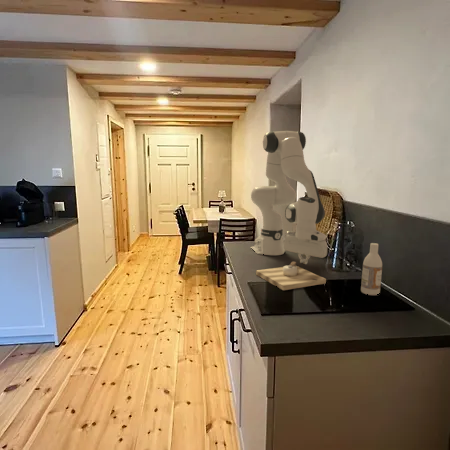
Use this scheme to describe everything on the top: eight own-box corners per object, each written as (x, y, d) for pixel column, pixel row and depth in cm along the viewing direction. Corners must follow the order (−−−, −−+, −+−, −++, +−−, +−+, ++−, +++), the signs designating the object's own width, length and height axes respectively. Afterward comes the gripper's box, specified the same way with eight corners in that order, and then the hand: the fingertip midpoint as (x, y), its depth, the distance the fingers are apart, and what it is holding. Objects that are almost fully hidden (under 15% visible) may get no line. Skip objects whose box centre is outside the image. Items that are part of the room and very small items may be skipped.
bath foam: (373, 297, 127) (377, 246, 123) (357, 291, 132) (361, 243, 129) (383, 293, 130) (388, 244, 127) (367, 288, 136) (371, 241, 133)
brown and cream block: (295, 276, 143) (295, 268, 142) (281, 274, 145) (282, 267, 144) (300, 268, 155) (300, 261, 154) (287, 267, 157) (287, 259, 156)
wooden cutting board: (256, 274, 152) (256, 270, 152) (295, 269, 161) (295, 264, 161) (283, 290, 133) (283, 285, 132) (325, 283, 142) (326, 278, 141)
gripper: (281, 231, 151) (280, 260, 154) (323, 238, 138) (321, 269, 141) (288, 229, 156) (287, 257, 159) (329, 235, 143) (327, 266, 146)
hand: (303, 263), depth 150 cm, fingers closed
